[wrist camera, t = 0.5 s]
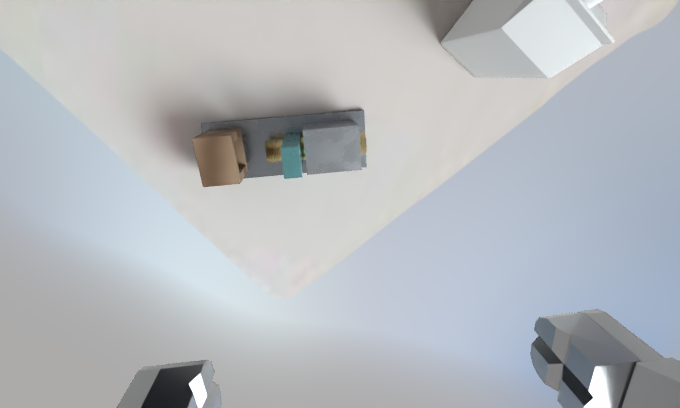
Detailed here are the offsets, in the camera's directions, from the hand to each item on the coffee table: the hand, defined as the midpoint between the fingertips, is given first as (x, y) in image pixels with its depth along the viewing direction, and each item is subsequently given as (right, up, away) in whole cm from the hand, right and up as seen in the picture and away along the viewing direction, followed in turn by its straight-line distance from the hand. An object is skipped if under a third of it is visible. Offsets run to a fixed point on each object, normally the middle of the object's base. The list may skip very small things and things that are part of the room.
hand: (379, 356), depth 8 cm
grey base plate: (-9, +12, +38) cm, 41 cm away
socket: (-17, +11, +38) cm, 43 cm away
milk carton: (+17, +26, +36) cm, 47 cm away
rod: (-4, +12, +38) cm, 40 cm away
